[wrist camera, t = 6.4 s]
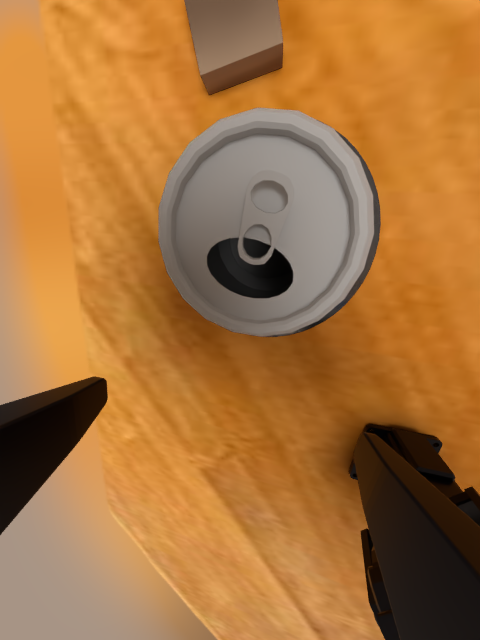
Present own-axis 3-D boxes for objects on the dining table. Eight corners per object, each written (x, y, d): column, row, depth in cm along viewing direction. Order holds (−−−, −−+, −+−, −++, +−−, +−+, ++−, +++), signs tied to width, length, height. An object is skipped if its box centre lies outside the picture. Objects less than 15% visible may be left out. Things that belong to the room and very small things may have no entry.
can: (210, 272, 19) (121, 316, 8) (234, 171, 17) (153, 30, 6) (297, 300, 19) (331, 384, 8) (335, 201, 17) (466, 116, 5)
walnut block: (282, 67, 15) (283, 42, 13) (209, 95, 16) (200, 75, 14) (267, -38, 14) (266, -82, 12) (189, 0, 15) (176, -36, 13)
